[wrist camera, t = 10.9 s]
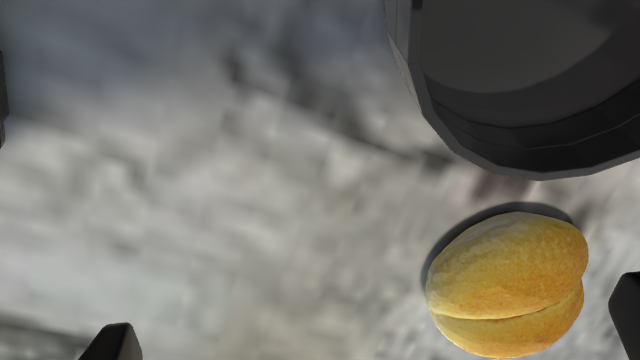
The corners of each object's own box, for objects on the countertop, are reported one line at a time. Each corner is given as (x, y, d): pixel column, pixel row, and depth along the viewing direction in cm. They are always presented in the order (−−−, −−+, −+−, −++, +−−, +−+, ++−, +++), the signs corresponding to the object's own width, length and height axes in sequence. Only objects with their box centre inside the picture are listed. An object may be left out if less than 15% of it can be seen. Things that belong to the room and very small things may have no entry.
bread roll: (577, 185, 24) (626, 243, 21) (564, 299, 30) (602, 358, 27) (410, 227, 25) (434, 290, 22) (428, 332, 30) (449, 394, 27)
